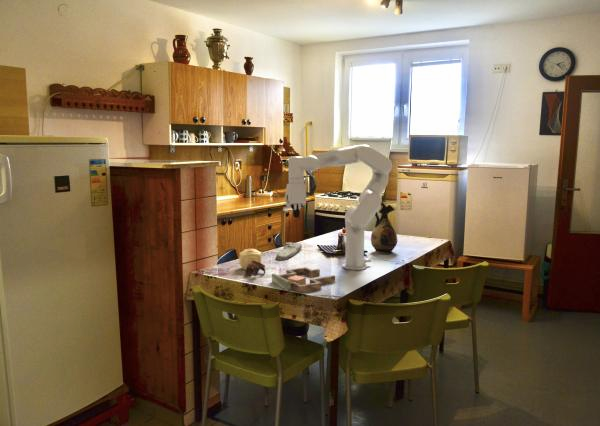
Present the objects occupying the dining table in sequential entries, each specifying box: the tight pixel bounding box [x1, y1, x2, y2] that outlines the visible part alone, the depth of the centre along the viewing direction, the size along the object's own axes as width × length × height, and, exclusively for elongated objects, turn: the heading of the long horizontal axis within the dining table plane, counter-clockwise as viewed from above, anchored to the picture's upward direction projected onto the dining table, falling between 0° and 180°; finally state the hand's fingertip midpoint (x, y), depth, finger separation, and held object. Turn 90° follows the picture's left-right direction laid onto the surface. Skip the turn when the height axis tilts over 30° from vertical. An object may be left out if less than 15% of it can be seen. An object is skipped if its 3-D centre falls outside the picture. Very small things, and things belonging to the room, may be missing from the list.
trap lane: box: [271, 266, 336, 294], centre depth 230 cm, size 26×27×4 cm
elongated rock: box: [275, 241, 303, 261], centre depth 289 cm, size 35×5×10 cm
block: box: [287, 275, 307, 285], centre depth 224 cm, size 6×6×4 cm
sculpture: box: [238, 248, 263, 271], centre depth 254 cm, size 12×12×11 cm
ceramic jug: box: [370, 201, 398, 255], centre depth 289 cm, size 17×15×30 cm
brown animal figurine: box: [244, 260, 266, 278], centre depth 242 cm, size 12×10×8 cm
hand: (296, 217), depth 249 cm, fingers closed
